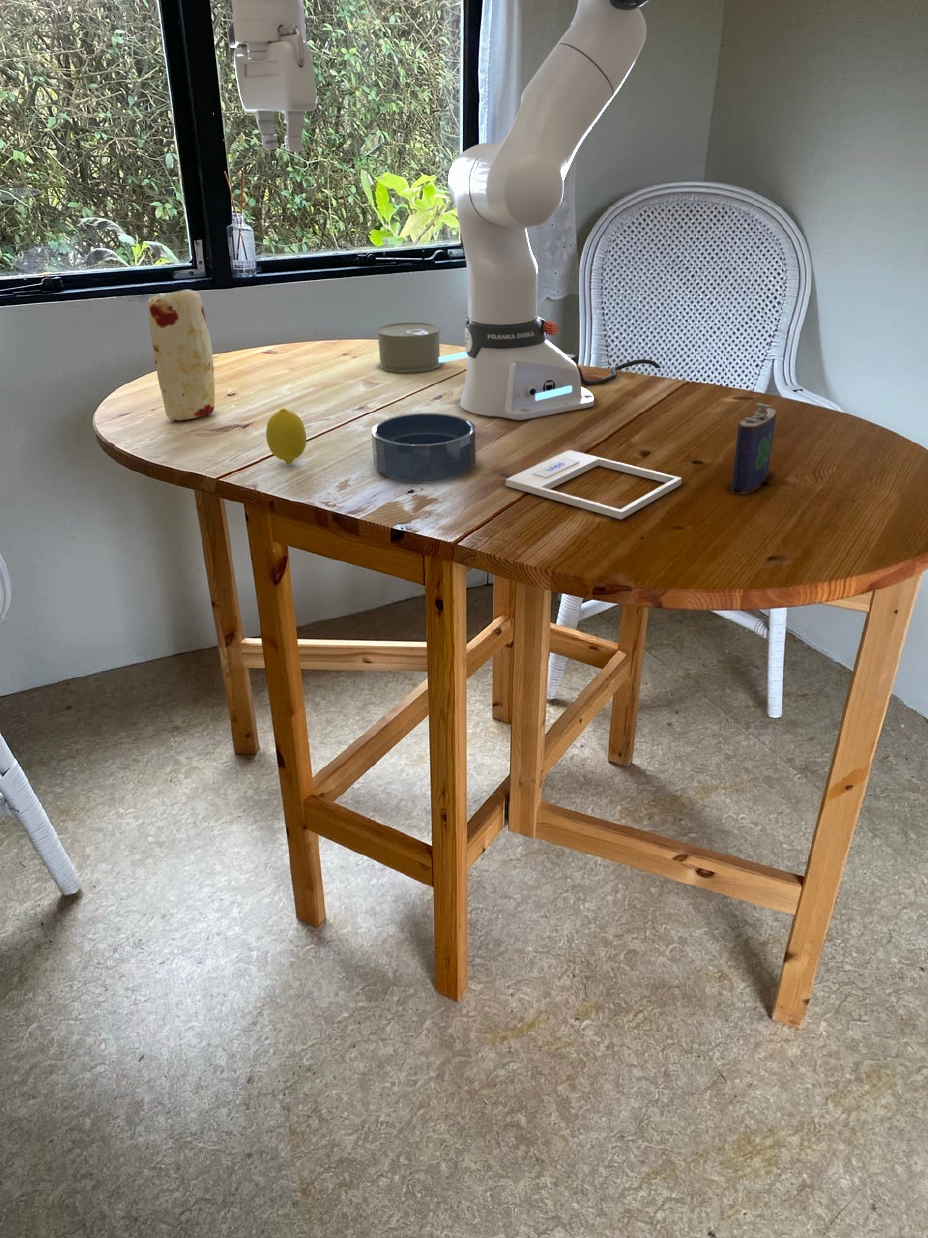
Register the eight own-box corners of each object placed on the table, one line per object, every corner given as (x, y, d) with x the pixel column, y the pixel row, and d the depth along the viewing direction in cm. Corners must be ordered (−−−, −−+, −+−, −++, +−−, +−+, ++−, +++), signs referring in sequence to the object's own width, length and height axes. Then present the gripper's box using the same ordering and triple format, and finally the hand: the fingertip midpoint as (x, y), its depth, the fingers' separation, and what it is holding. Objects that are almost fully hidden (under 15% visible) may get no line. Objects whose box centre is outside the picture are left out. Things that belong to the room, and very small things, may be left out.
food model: (178, 427, 147) (155, 297, 137) (156, 419, 151) (132, 292, 141) (229, 413, 153) (211, 287, 143) (206, 406, 157) (187, 283, 147)
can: (416, 354, 186) (414, 319, 182) (453, 365, 178) (452, 329, 174) (367, 365, 179) (364, 328, 176) (403, 376, 171) (401, 339, 168)
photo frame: (569, 448, 131) (681, 476, 121) (569, 455, 132) (681, 484, 121) (505, 477, 122) (621, 510, 111) (505, 485, 122) (621, 519, 112)
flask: (752, 470, 126) (764, 392, 120) (773, 474, 124) (786, 396, 119) (726, 491, 119) (737, 410, 114) (748, 496, 118) (760, 414, 113)
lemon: (301, 471, 129) (294, 415, 125) (264, 468, 130) (256, 413, 126) (314, 457, 134) (308, 403, 130) (278, 455, 135) (271, 401, 131)
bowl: (458, 444, 137) (457, 408, 135) (489, 477, 125) (488, 438, 123) (365, 456, 134) (362, 419, 131) (387, 490, 122) (385, 450, 119)
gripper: (324, 22, 110) (333, 152, 116) (268, 33, 125) (279, 147, 132) (273, 21, 107) (286, 154, 114) (222, 32, 123) (236, 148, 129)
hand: (282, 150), depth 123 cm, fingers open, 8 cm apart
